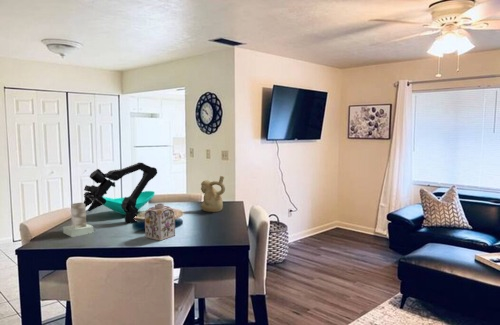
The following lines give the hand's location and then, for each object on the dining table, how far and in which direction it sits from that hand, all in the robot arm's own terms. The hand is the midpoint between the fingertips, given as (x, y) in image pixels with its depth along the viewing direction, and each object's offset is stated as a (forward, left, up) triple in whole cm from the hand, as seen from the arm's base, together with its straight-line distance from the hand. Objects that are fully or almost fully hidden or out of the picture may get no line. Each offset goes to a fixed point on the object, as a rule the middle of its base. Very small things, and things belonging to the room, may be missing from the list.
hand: (85, 209), depth 210 cm
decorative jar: (-37, +30, -13) cm, 49 cm away
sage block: (+4, +2, -13) cm, 14 cm away
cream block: (+4, +1, -9) cm, 10 cm away
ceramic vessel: (-83, -20, -13) cm, 87 cm away
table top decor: (-26, -37, -13) cm, 47 cm away
